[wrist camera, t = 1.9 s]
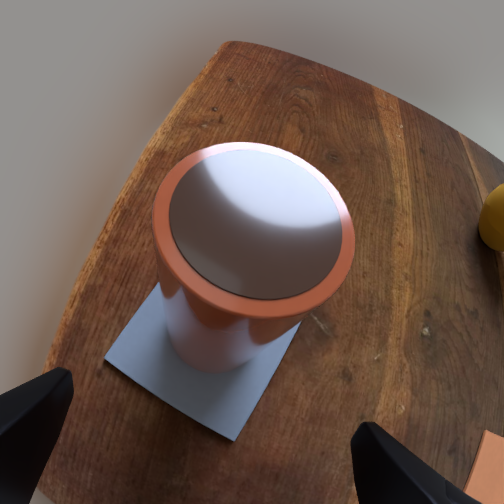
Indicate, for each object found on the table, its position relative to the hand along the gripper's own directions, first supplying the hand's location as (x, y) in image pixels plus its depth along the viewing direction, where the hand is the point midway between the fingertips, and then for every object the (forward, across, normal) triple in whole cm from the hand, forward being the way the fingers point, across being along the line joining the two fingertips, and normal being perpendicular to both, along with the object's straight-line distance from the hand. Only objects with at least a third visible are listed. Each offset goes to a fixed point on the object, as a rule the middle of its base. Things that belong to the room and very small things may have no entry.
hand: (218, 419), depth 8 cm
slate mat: (+12, 0, +4) cm, 13 cm away
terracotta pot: (+12, 0, +4) cm, 13 cm away
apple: (+24, -32, -7) cm, 41 cm away
